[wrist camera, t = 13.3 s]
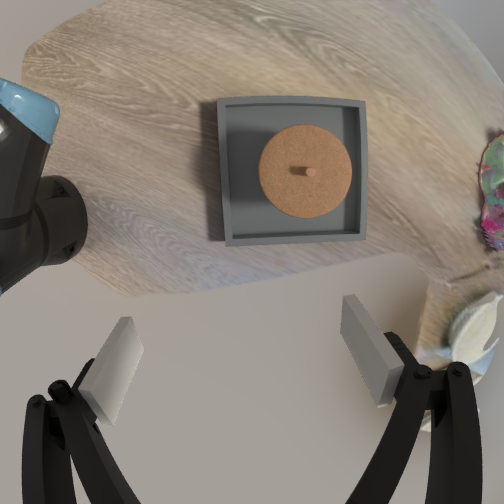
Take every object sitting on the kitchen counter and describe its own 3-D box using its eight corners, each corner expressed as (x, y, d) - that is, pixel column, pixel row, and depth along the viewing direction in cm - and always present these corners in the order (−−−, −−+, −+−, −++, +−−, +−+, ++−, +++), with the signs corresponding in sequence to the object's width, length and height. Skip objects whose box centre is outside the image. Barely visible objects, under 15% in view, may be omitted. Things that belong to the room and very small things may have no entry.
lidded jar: (254, 205, 38) (256, 219, 29) (257, 128, 34) (261, 117, 26) (329, 209, 38) (352, 225, 29) (334, 135, 35) (360, 129, 26)
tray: (227, 241, 40) (225, 246, 38) (218, 102, 34) (216, 98, 31) (359, 235, 40) (365, 240, 38) (358, 104, 34) (365, 101, 31)
